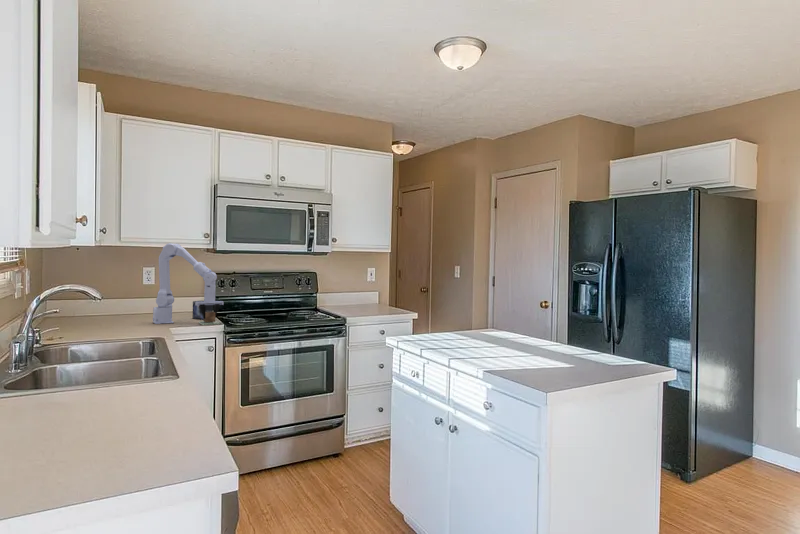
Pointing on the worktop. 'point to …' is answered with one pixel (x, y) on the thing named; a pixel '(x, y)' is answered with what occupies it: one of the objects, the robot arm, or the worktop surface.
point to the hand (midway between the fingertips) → (209, 318)
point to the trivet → (208, 323)
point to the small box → (197, 311)
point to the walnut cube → (209, 317)
